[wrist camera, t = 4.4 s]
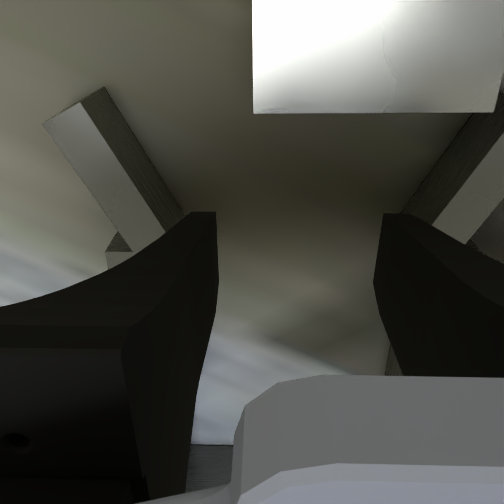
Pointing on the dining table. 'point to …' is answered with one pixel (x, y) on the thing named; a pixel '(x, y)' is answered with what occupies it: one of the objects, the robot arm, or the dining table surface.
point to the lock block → (377, 56)
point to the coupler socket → (169, 214)
